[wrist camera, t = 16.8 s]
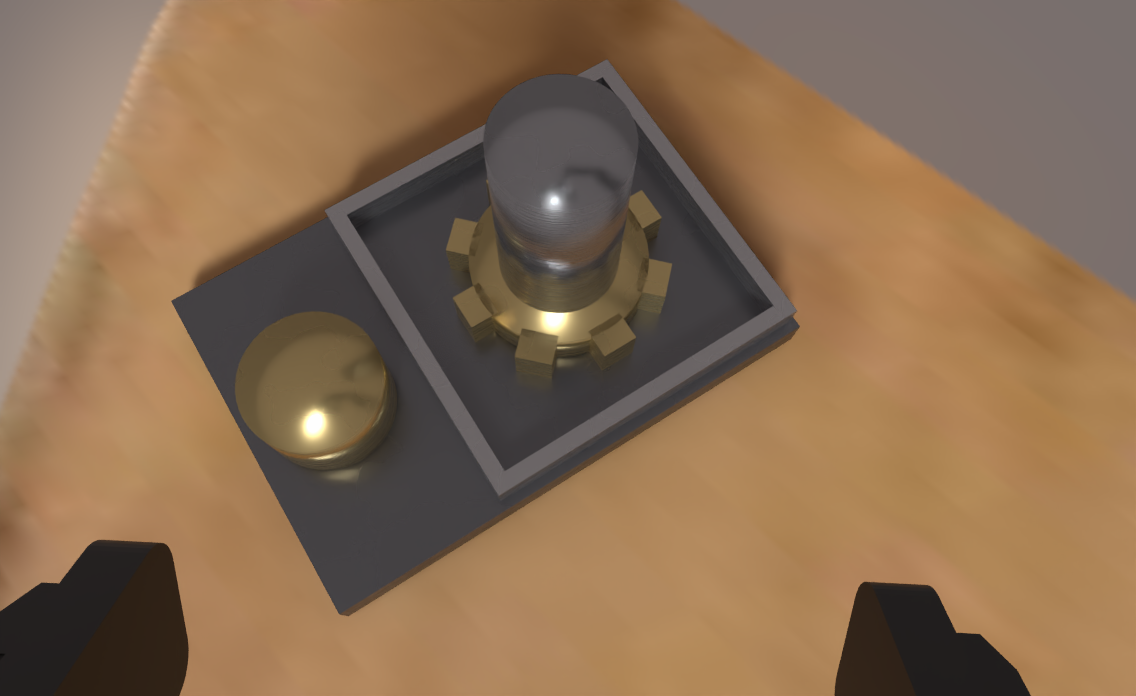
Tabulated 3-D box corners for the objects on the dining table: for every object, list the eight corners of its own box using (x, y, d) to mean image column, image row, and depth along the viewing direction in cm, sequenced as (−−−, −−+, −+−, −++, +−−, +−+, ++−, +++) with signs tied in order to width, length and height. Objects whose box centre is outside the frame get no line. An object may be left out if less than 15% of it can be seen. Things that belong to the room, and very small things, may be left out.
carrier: (603, 88, 33) (610, 20, 29) (790, 339, 30) (822, 296, 26) (185, 314, 30) (136, 268, 26) (348, 616, 27) (317, 610, 23)
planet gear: (590, 145, 31) (603, -24, 23) (707, 307, 29) (762, 182, 21) (412, 243, 29) (363, 99, 22) (523, 418, 28) (512, 328, 20)
